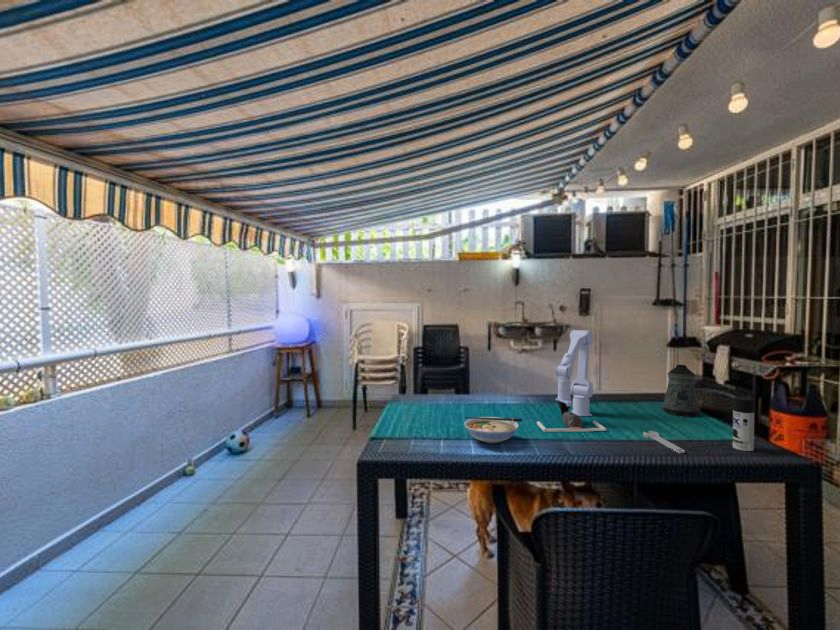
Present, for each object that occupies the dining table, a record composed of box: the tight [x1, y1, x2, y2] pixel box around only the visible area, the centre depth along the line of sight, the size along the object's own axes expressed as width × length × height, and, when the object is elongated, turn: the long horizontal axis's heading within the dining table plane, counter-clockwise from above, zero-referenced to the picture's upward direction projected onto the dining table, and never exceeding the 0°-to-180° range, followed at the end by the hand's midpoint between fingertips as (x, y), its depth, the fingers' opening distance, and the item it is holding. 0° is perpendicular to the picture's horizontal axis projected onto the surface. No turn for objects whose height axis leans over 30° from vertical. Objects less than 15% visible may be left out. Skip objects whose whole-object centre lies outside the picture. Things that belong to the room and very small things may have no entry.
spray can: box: [732, 396, 755, 453], centre depth 165 cm, size 7×7×20 cm
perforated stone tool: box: [561, 411, 583, 428], centre depth 198 cm, size 15×5×7 cm, turn 4°
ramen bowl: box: [464, 416, 523, 445], centre depth 178 cm, size 25×23×8 cm
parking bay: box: [536, 420, 608, 433], centre depth 197 cm, size 13×28×2 cm, turn 89°
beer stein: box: [662, 364, 701, 418], centre depth 221 cm, size 16×19×25 cm
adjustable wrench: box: [642, 430, 686, 454], centre depth 174 cm, size 25×6×2 cm, turn 176°
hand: (564, 417), depth 206 cm, fingers closed
